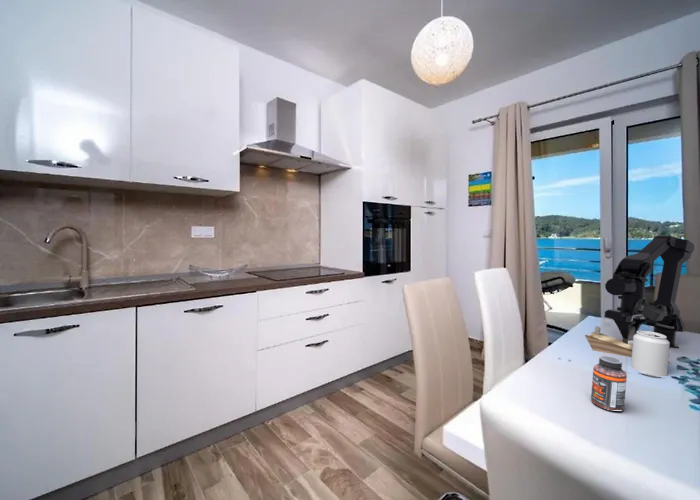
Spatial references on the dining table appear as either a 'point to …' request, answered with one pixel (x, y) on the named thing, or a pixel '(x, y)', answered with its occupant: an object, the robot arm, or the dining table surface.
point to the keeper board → (609, 347)
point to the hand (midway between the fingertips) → (628, 338)
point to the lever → (614, 340)
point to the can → (650, 353)
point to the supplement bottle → (609, 384)
